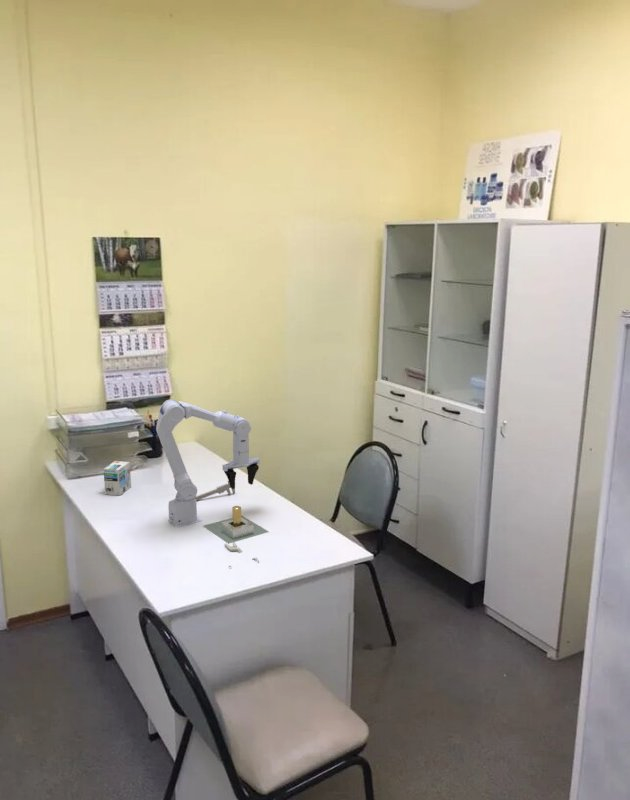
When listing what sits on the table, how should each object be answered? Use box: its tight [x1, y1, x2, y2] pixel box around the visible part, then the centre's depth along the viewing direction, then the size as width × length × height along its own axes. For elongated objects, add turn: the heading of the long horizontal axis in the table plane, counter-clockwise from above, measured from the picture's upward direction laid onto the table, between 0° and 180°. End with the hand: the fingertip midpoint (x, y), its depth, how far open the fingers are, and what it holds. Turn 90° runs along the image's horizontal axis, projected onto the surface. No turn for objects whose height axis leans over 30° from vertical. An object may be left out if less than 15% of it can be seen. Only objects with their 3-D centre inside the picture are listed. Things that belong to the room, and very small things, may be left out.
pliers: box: [224, 542, 260, 568], centre depth 217 cm, size 10×2×15 cm
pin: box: [231, 505, 242, 527], centre depth 233 cm, size 3×3×9 cm
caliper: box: [196, 480, 236, 502], centre depth 265 cm, size 20×1×6 cm, turn 121°
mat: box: [202, 514, 269, 545], centre depth 236 cm, size 16×18×1 cm
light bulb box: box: [103, 460, 132, 496], centre depth 272 cm, size 11×7×11 cm, turn 171°
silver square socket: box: [221, 517, 254, 539], centre depth 233 cm, size 8×8×3 cm
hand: (241, 485), depth 249 cm, fingers open, 7 cm apart
